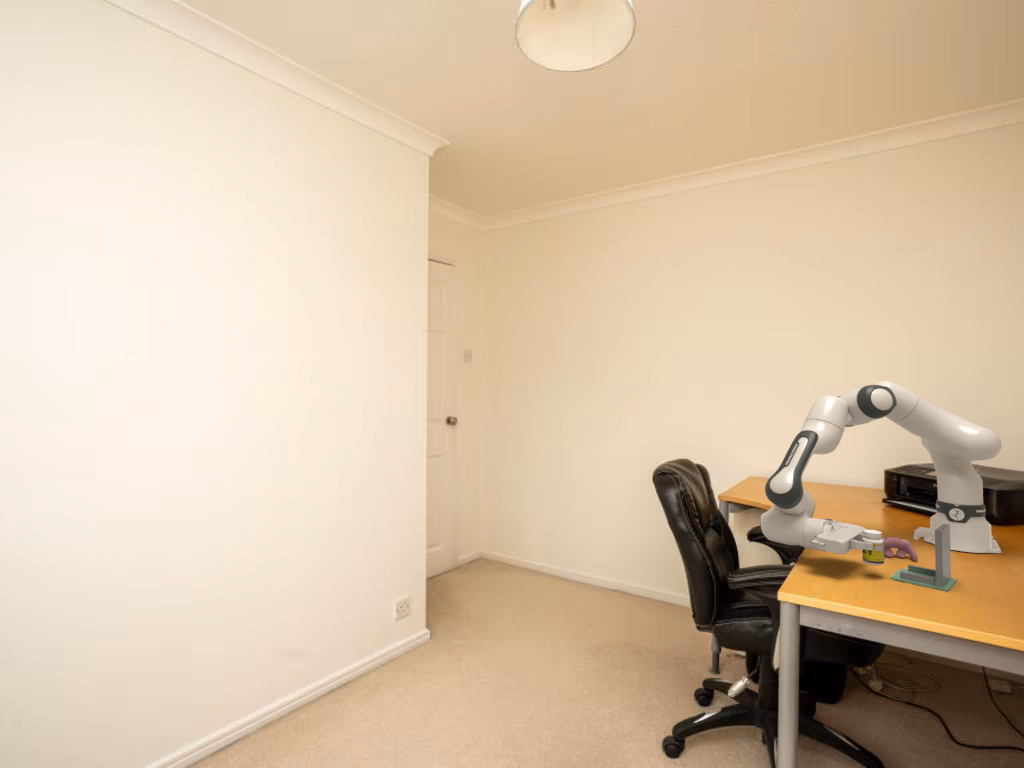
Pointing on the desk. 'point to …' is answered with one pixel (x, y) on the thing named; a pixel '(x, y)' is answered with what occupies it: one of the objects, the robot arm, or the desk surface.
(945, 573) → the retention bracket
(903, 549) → the video game controller
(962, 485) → the robot arm
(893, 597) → the desk surface
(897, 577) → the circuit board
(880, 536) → the supplement bottle
